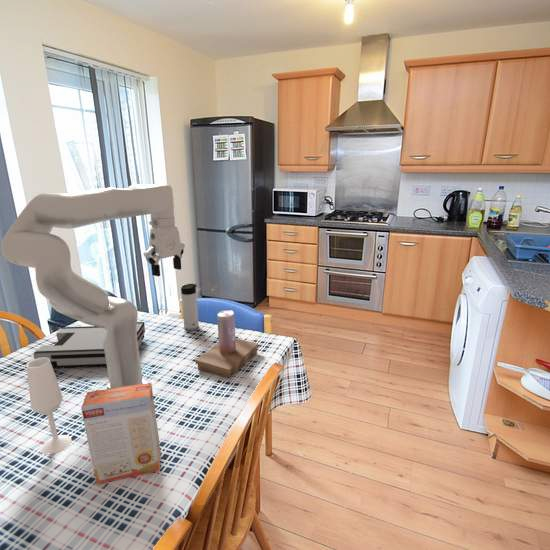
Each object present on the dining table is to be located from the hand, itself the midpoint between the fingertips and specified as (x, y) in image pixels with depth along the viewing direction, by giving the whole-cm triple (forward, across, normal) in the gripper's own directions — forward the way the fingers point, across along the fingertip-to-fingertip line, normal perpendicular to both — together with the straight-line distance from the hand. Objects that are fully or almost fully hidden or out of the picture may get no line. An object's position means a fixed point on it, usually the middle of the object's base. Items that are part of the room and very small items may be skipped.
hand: (167, 272), depth 125 cm
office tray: (+34, -12, +28) cm, 46 cm away
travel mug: (+33, +23, +12) cm, 42 cm away
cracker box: (+34, -42, -28) cm, 61 cm away
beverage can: (+29, +8, -18) cm, 36 cm away
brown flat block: (+33, +8, -19) cm, 39 cm away
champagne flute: (+34, -46, -5) cm, 58 cm away
